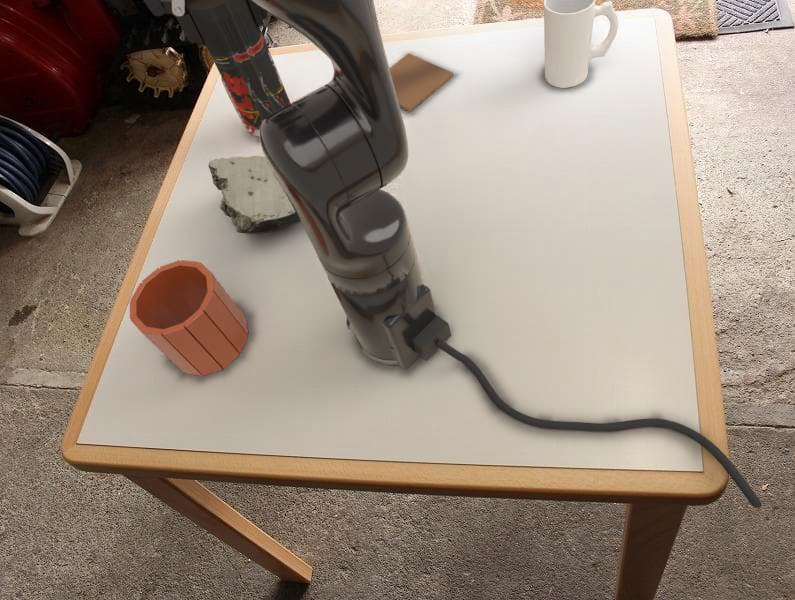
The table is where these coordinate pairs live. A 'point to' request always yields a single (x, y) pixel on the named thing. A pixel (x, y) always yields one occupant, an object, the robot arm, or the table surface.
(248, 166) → the concrete fragment
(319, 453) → the table surface
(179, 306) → the crock
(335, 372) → the table surface
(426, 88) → the cork mat
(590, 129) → the table surface
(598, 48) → the mug
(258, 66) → the deodorant
